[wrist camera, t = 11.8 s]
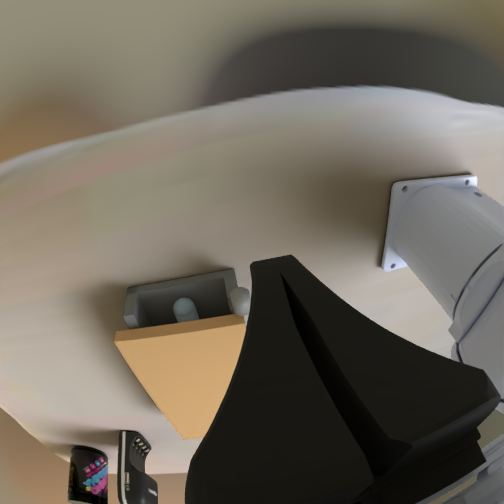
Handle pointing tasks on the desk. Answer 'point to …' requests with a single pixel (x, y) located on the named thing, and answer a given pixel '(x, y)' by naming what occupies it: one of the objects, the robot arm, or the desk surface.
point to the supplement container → (88, 476)
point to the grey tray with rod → (185, 300)
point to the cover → (185, 367)
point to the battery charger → (134, 471)
